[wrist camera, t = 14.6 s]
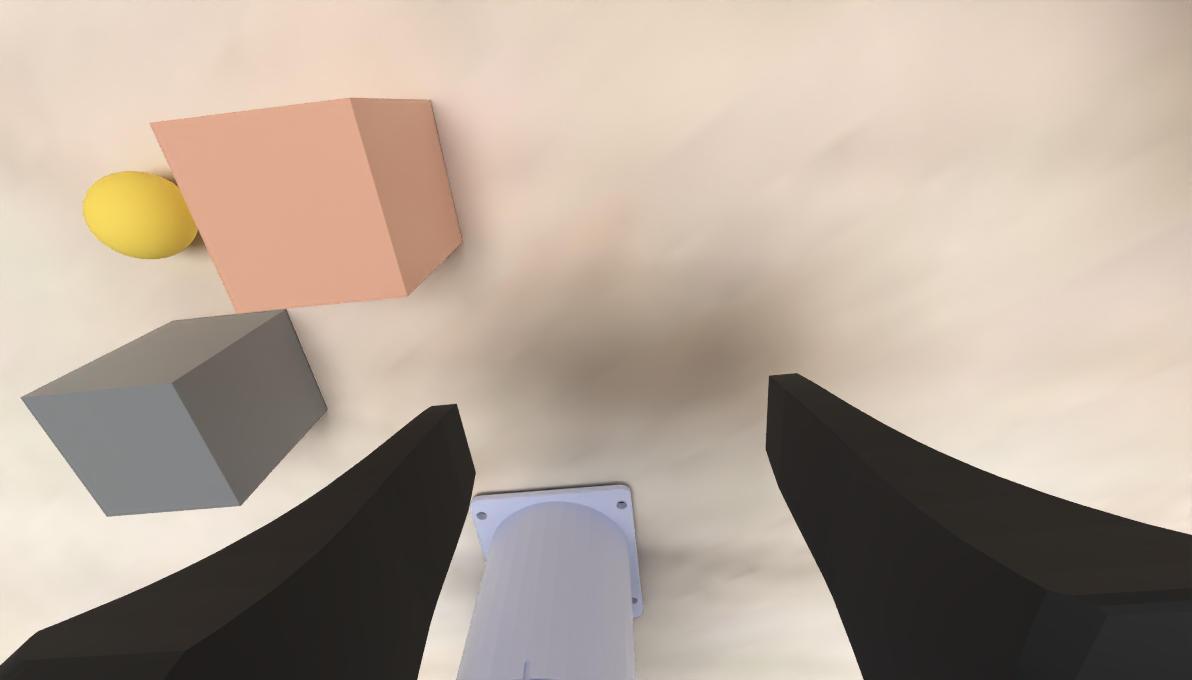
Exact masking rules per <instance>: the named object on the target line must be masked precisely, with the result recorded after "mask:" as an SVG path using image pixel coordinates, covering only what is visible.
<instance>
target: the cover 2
mask: <svg viewBox="0 0 1192 680" xmlns="http://www.w3.org/2000/svg"><path fill="white" fill-rule="evenodd" d="M21 399H22V401H23V402H24V403H25V405H26V406H27V407H28V409H29V410H30V412H31V413H32V414H33V416H34V417H35V418H36V420H37V421H38V423H39V424H40V425H41V427H42V428H43V429H44V431H45V432H46V434H47V435H48V436H49V438H50V439H51V440H52V442H53V443H54V445H55V446H56V447H57V449H58V450H59V451H60V453H61V454H62V456H63V457H64V458H65V460H66V461H67V462H68V464H69V465H70V467H71V468H72V469H73V471H74V472H75V473H76V475H77V476H78V478H79V479H80V480H81V482H82V483H83V484H84V486H85V487H86V489H87V490H88V491H89V493H90V494H91V495H92V497H93V498H94V500H95V501H96V502H97V504H98V505H99V506H100V508H101V509H102V511H103V512H104V513H105V515H106V516H107V517H108V516H121V515H133V514H146V513H158V512H170V511H183V510H195V509H208V508H220V507H232V506H241V505H242V504H243V503H244V502H245V500H246V499H247V498H248V497H249V496H250V495H251V494H252V493H253V492H254V490H255V489H256V488H257V487H258V486H259V485H260V484H261V483H262V482H263V480H264V479H265V478H266V477H267V476H268V475H269V474H270V473H271V472H272V470H273V469H274V468H275V467H276V466H277V465H278V464H279V463H280V462H281V460H282V459H283V458H284V457H285V456H286V455H287V454H288V453H289V452H290V450H291V449H292V448H293V447H294V446H295V445H296V444H297V443H298V442H299V440H300V439H301V438H302V437H303V436H304V435H305V434H306V433H307V432H308V430H309V429H310V428H311V427H312V426H313V425H314V424H315V423H316V422H317V420H318V419H319V418H320V417H321V416H322V415H323V414H324V413H325V412H326V410H327V408H326V405H325V403H324V401H323V398H322V396H321V393H320V391H319V389H318V386H317V384H316V381H315V379H314V377H313V374H312V372H311V369H310V367H309V365H308V362H307V360H306V357H305V355H304V352H303V350H302V348H301V345H300V343H299V340H298V338H297V336H296V333H295V331H294V328H293V326H292V324H291V321H290V319H289V316H288V314H287V312H286V309H282V310H273V311H263V312H254V313H244V314H235V315H225V316H216V317H206V318H197V319H187V320H178V321H171V322H169V323H167V324H165V325H163V326H161V327H159V328H157V329H155V330H153V331H152V332H150V333H148V334H146V335H144V336H142V337H140V338H138V339H136V340H134V341H132V342H130V343H128V344H126V345H124V346H122V347H120V348H118V349H116V350H114V351H112V352H110V353H108V354H106V355H104V356H102V357H100V358H98V359H96V360H94V361H92V362H90V363H88V364H86V365H84V366H82V367H80V368H78V369H76V370H74V371H72V372H70V373H68V374H66V375H64V376H62V377H60V378H58V379H56V380H54V381H52V382H50V383H48V384H46V385H44V386H42V387H41V388H39V389H37V390H35V391H33V392H31V393H29V394H27V395H25V396H23V397H21Z"/></svg>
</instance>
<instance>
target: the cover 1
mask: <svg viewBox="0 0 1192 680" xmlns="http://www.w3.org/2000/svg"><path fill="white" fill-rule="evenodd" d="M150 125H151V128H152V130H153V132H154V134H155V136H156V139H157V141H158V143H159V145H160V147H161V149H162V152H163V154H164V156H165V158H166V160H167V163H168V165H169V167H170V169H171V171H172V173H173V176H174V178H175V180H176V182H177V184H178V186H179V189H180V191H181V193H182V195H183V197H184V200H185V202H186V204H187V206H188V208H189V210H190V213H191V215H192V217H193V219H194V221H195V224H196V226H197V228H198V230H199V232H200V234H201V237H202V239H203V241H204V243H205V245H206V248H207V250H208V252H209V254H210V256H211V258H212V261H213V263H214V265H215V267H216V269H217V271H218V274H219V276H220V278H221V280H222V282H223V285H224V287H225V289H226V291H227V293H228V295H229V298H230V300H231V302H232V304H233V306H234V309H235V311H236V313H247V312H257V311H267V310H277V309H287V308H297V307H307V306H317V305H327V304H337V303H347V302H357V301H367V300H377V299H387V298H397V297H407V296H408V295H409V294H410V293H411V292H412V291H413V290H414V289H415V288H416V287H417V286H418V285H419V284H421V283H422V282H423V281H424V280H425V279H426V278H427V277H428V276H429V275H430V274H431V273H432V272H433V271H434V270H435V269H436V268H437V267H438V266H439V265H440V264H441V263H442V262H443V261H444V260H445V259H446V258H447V257H448V256H449V255H450V254H451V253H452V252H453V251H454V250H455V249H456V248H457V247H458V246H459V245H460V244H461V243H462V238H461V233H460V229H459V224H458V220H457V216H456V211H455V207H454V203H453V198H452V194H451V189H450V185H449V181H448V176H447V172H446V168H445V163H444V159H443V155H442V150H441V146H440V141H439V137H438V133H437V128H436V124H435V120H434V115H433V111H432V106H431V102H430V100H414V99H374V98H345V99H337V100H329V101H321V102H313V103H305V104H297V105H289V106H281V107H273V108H265V109H257V110H249V111H241V112H233V113H225V114H217V115H209V116H201V117H193V118H185V119H177V120H169V121H161V122H153V123H150Z"/></svg>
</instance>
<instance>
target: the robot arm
mask: <svg viewBox="0 0 1192 680" xmlns="http://www.w3.org/2000/svg"><path fill="white" fill-rule="evenodd" d="M766 452H767V455H768V458H769V461H770V464H771V467H772V470H773V473H774V475H775V478H776V481H777V484H778V487H779V489H780V491H781V493H782V495H783V497H784V499H785V501H786V503H787V505H788V507H789V509H790V511H791V513H792V515H793V517H794V519H795V521H796V523H797V525H798V527H799V529H800V531H801V533H802V535H803V537H804V539H805V541H806V543H807V545H808V547H809V549H810V551H811V553H812V555H813V557H814V559H815V561H816V563H817V565H818V567H819V569H820V571H821V573H822V575H823V577H824V579H825V581H826V584H827V586H828V588H829V590H830V592H831V595H832V597H833V599H834V602H835V604H836V607H837V610H838V612H839V615H840V617H841V620H842V623H843V625H844V628H845V630H846V633H847V636H848V638H849V641H850V643H851V646H852V649H853V652H854V654H855V657H856V660H857V663H858V665H859V668H860V671H861V674H862V676H863V679H864V680H1192V535H1189V534H1185V533H1181V532H1177V531H1173V530H1169V529H1165V528H1161V527H1157V526H1153V525H1149V524H1145V523H1141V522H1138V521H1134V520H1131V519H1127V518H1124V517H1121V516H1117V515H1114V514H1110V513H1107V512H1104V511H1100V510H1097V509H1093V508H1090V507H1087V506H1083V505H1080V504H1077V503H1074V502H1071V501H1068V500H1064V499H1061V498H1058V497H1055V496H1052V495H1049V494H1046V493H1043V492H1040V491H1037V490H1035V489H1032V488H1029V487H1026V486H1024V485H1021V484H1018V483H1015V482H1012V481H1010V480H1007V479H1004V478H1001V477H999V476H996V475H994V474H991V473H988V472H986V471H983V470H981V469H978V468H976V467H974V466H971V465H969V464H967V463H964V462H962V461H960V460H957V459H955V458H953V457H950V456H948V455H946V454H944V453H941V452H939V451H937V450H935V449H932V448H930V447H928V446H926V445H924V444H922V443H920V442H918V441H916V440H914V439H912V438H910V437H908V436H906V435H904V434H902V433H900V432H898V431H896V430H895V429H893V428H891V427H889V426H887V425H885V424H883V423H881V422H880V421H878V420H876V419H874V418H872V417H871V416H869V415H867V414H865V413H864V412H862V411H860V410H859V409H857V408H855V407H853V406H852V405H850V404H848V403H847V402H845V401H843V400H842V399H840V398H838V397H837V396H835V395H833V394H832V393H830V392H828V391H827V390H825V389H823V388H822V387H820V386H818V385H817V384H815V383H813V382H812V381H810V380H808V379H807V378H805V377H803V376H801V375H799V374H797V373H794V374H783V375H772V376H769V387H768V409H767V431H766ZM475 474H476V472H475V468H474V465H473V461H472V457H471V454H470V450H469V447H468V443H467V439H466V436H465V432H464V429H463V425H462V421H461V418H460V414H459V410H458V407H457V404H450V405H439V406H431V407H429V408H428V409H426V410H425V411H424V412H422V413H421V414H419V415H418V416H417V417H416V418H414V419H413V420H412V421H410V422H409V423H408V424H407V425H405V426H404V427H403V428H402V429H400V430H399V431H398V432H397V433H396V434H394V435H393V436H392V437H391V438H389V439H388V440H387V441H386V442H384V443H383V444H382V445H381V446H379V447H378V448H377V449H376V450H374V451H373V452H372V453H371V454H369V455H368V456H367V457H365V458H364V459H363V460H361V461H360V462H359V463H357V464H356V465H355V466H353V467H352V468H351V469H349V470H348V471H347V472H345V473H344V474H343V475H341V476H340V477H338V478H337V479H336V480H334V481H333V482H332V483H330V484H329V485H328V486H326V487H325V488H323V489H322V490H320V491H319V492H318V493H316V494H315V495H313V496H312V497H310V498H309V499H307V500H306V501H304V502H303V503H301V504H299V505H298V506H296V507H295V508H293V509H291V510H290V511H288V512H287V513H285V514H283V515H282V516H280V517H279V518H277V519H275V520H274V521H272V522H270V523H269V524H267V525H265V526H263V527H262V528H260V529H258V530H256V531H254V532H252V533H251V534H249V535H247V536H245V537H243V538H242V539H240V540H238V541H236V542H234V543H233V544H231V545H229V546H227V547H225V548H224V549H222V550H220V551H218V552H216V553H214V554H212V555H210V556H208V557H206V558H204V559H202V560H200V561H198V562H196V563H194V564H192V565H190V566H188V567H186V568H184V569H182V570H180V571H178V572H176V573H174V574H172V575H169V576H167V577H165V578H163V579H161V580H159V581H157V582H155V583H152V584H150V585H148V586H146V587H144V588H141V589H139V590H137V591H135V592H132V593H130V594H128V595H126V596H123V597H121V598H118V599H116V600H114V601H111V602H109V603H106V604H104V605H101V606H99V607H97V608H94V609H92V610H89V611H87V612H85V613H82V614H80V615H77V616H75V617H72V618H70V619H68V620H65V621H63V622H60V623H58V624H55V625H53V626H50V627H48V628H45V629H43V630H40V631H38V632H37V633H35V634H34V635H33V636H31V637H30V638H29V639H28V640H27V641H26V642H25V643H24V644H23V645H22V646H21V647H20V648H18V649H17V650H16V651H15V652H14V653H13V654H12V655H11V656H10V657H9V658H8V659H7V660H6V661H5V662H3V663H2V664H1V665H0V680H417V678H418V673H419V669H420V665H421V661H422V657H423V652H424V648H425V644H426V640H427V636H428V632H429V627H430V623H431V620H432V617H433V613H434V610H435V607H436V604H437V600H438V598H439V595H440V592H441V589H442V586H443V583H444V580H445V578H446V575H447V572H448V569H449V566H450V563H451V560H452V558H453V555H454V552H455V549H456V546H457V543H458V540H459V537H460V534H461V531H462V528H463V526H464V523H465V520H466V516H467V513H468V510H469V505H470V510H471V514H472V517H473V520H474V524H475V527H476V530H477V534H478V537H479V541H480V544H481V547H482V551H483V554H484V558H485V561H486V564H485V568H484V572H483V576H482V580H481V584H480V588H479V592H478V596H477V599H476V603H475V607H474V611H473V615H472V619H471V623H470V627H469V631H468V635H467V639H466V643H465V647H464V651H463V655H462V659H461V662H460V666H459V670H458V674H457V678H456V680H636V664H635V647H634V630H633V618H637V617H640V616H641V615H642V614H643V603H642V594H641V585H640V575H639V566H638V556H637V547H636V537H635V528H634V519H633V509H632V500H631V491H630V489H629V488H628V487H627V486H625V485H608V486H595V487H583V488H570V489H557V490H545V491H532V492H519V493H506V494H494V495H481V496H476V497H474V498H473V499H472V501H471V504H470V500H471V496H472V490H473V485H474V479H475ZM620 501H624V502H625V503H618V502H620ZM480 512H484V513H486V514H482V513H480Z"/></svg>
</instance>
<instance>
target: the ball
mask: <svg viewBox="0 0 1192 680" xmlns="http://www.w3.org/2000/svg"><path fill="white" fill-rule="evenodd" d="M83 214H84V218H85V221H86V223H87V225H88V227H89V229H90V230H91V232H92V233H93V234H94V235H95V236H96V238H97V239H99V240H100V241H101V242H102V243H103V244H105V245H106V246H108V247H109V248H111V249H113V250H115V251H117V252H119V253H121V254H124V255H127V256H130V257H135V258H140V259H160V258H166V257H169V256H172V255H175V254H177V253H179V252H181V251H183V250H184V249H185V248H187V247H188V246H189V245H190V244H191V243H192V241H193V240H194V238H195V237H196V234H197V232H198V228H197V226H196V224H195V221H194V219H193V217H192V215H191V213H190V210H189V208H188V206H187V204H186V202H185V200H184V197H183V195H182V193H181V191H180V189H179V187H178V186H176V185H175V184H174V183H172V182H170V181H169V180H166V179H164V178H162V177H160V176H157V175H154V174H150V173H145V172H137V171H126V172H118V173H114V174H110V175H108V176H105V177H103V178H101V179H100V180H98V181H97V182H95V183H94V184H93V185H92V186H91V187H90V189H89V190H88V191H87V193H86V196H85V198H84V201H83Z"/></svg>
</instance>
